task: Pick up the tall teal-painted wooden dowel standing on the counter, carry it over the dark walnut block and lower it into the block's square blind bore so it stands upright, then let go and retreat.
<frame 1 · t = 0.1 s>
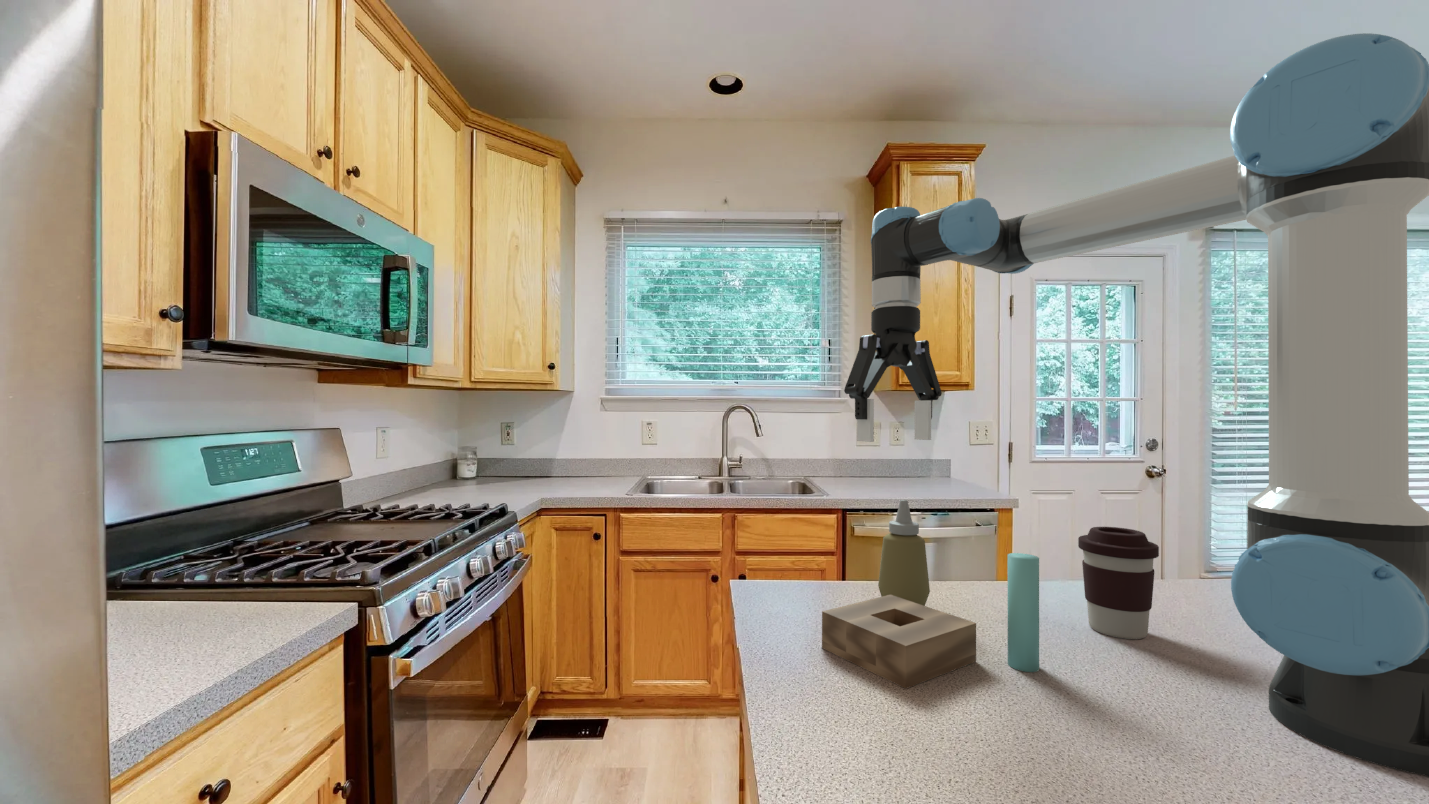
hand: (895, 440, 94), 28 cm above the countertop, fingers open, 13 cm apart
squeeze bottle: (903, 612, 96), on the countertop
pin: (1023, 665, 75), on the countertop
bore block: (897, 654, 78), on the countertop
coffee cup: (1117, 632, 88), on the countertop
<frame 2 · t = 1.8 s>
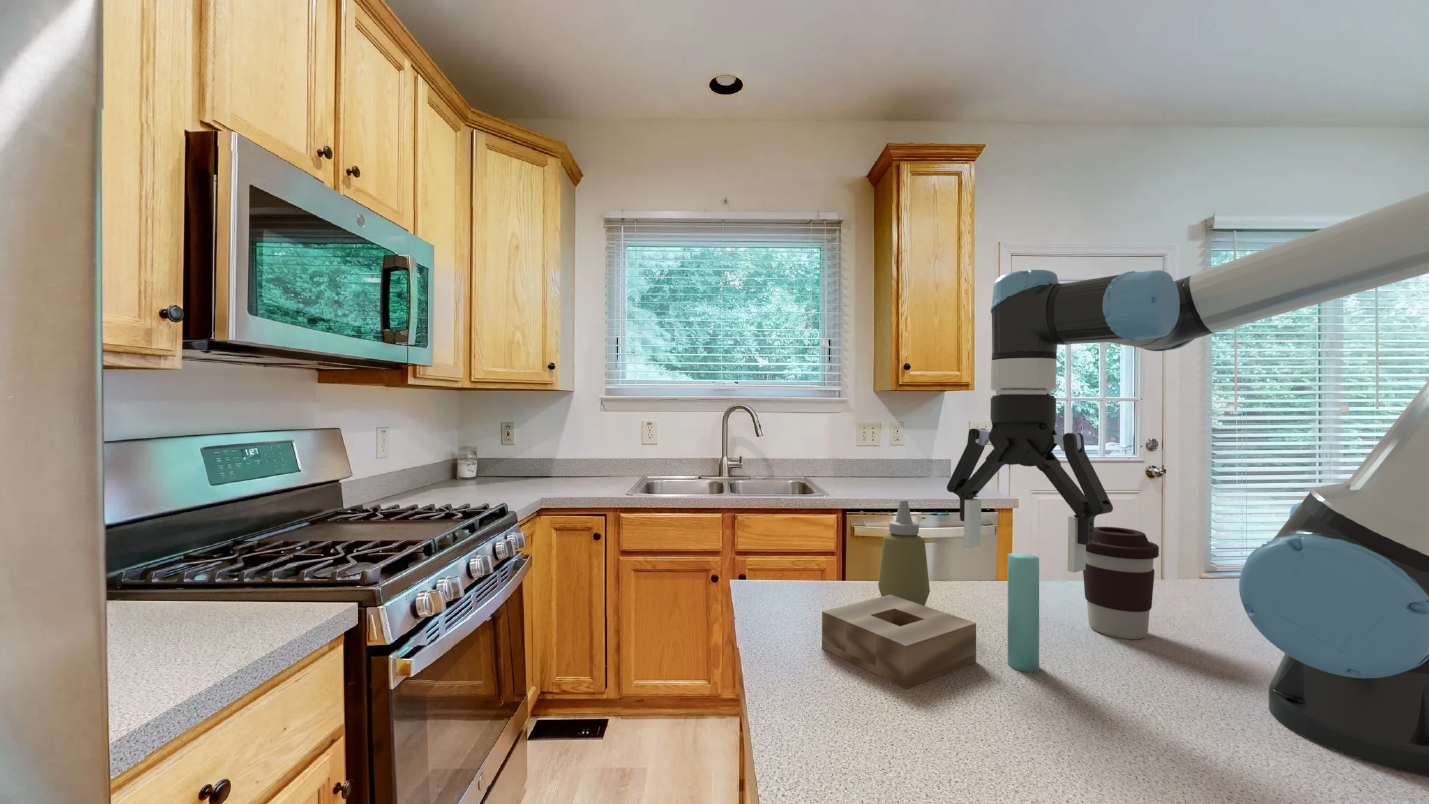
hand: (1020, 557, 76), 14 cm above the countertop, fingers open, 13 cm apart
nothing on the countertop moved.
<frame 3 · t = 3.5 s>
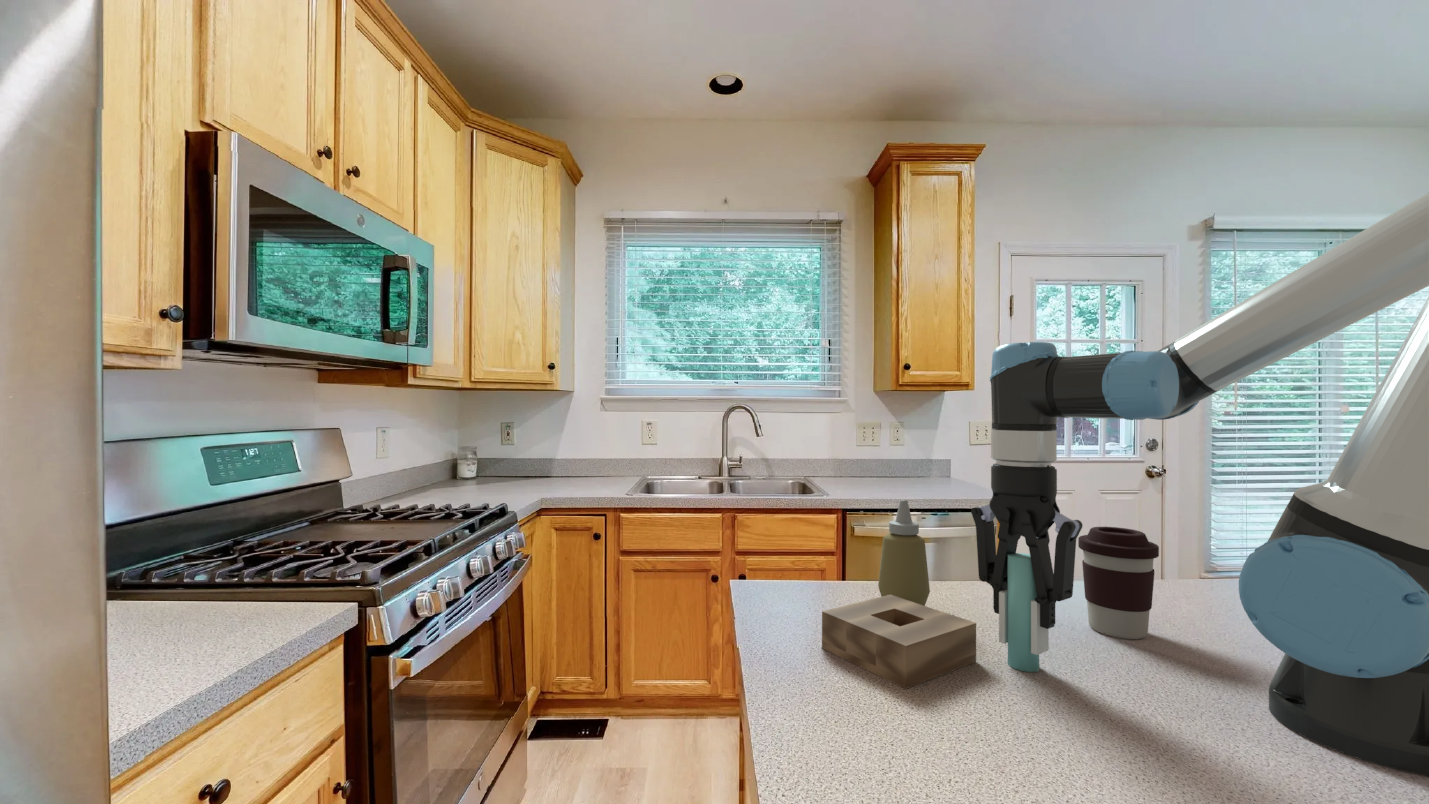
hand: (1023, 645, 75), 3 cm above the countertop, fingers closed on pin, 3 cm apart
pin: (1023, 665, 75), on the countertop, touching gripper
everything else where it was.
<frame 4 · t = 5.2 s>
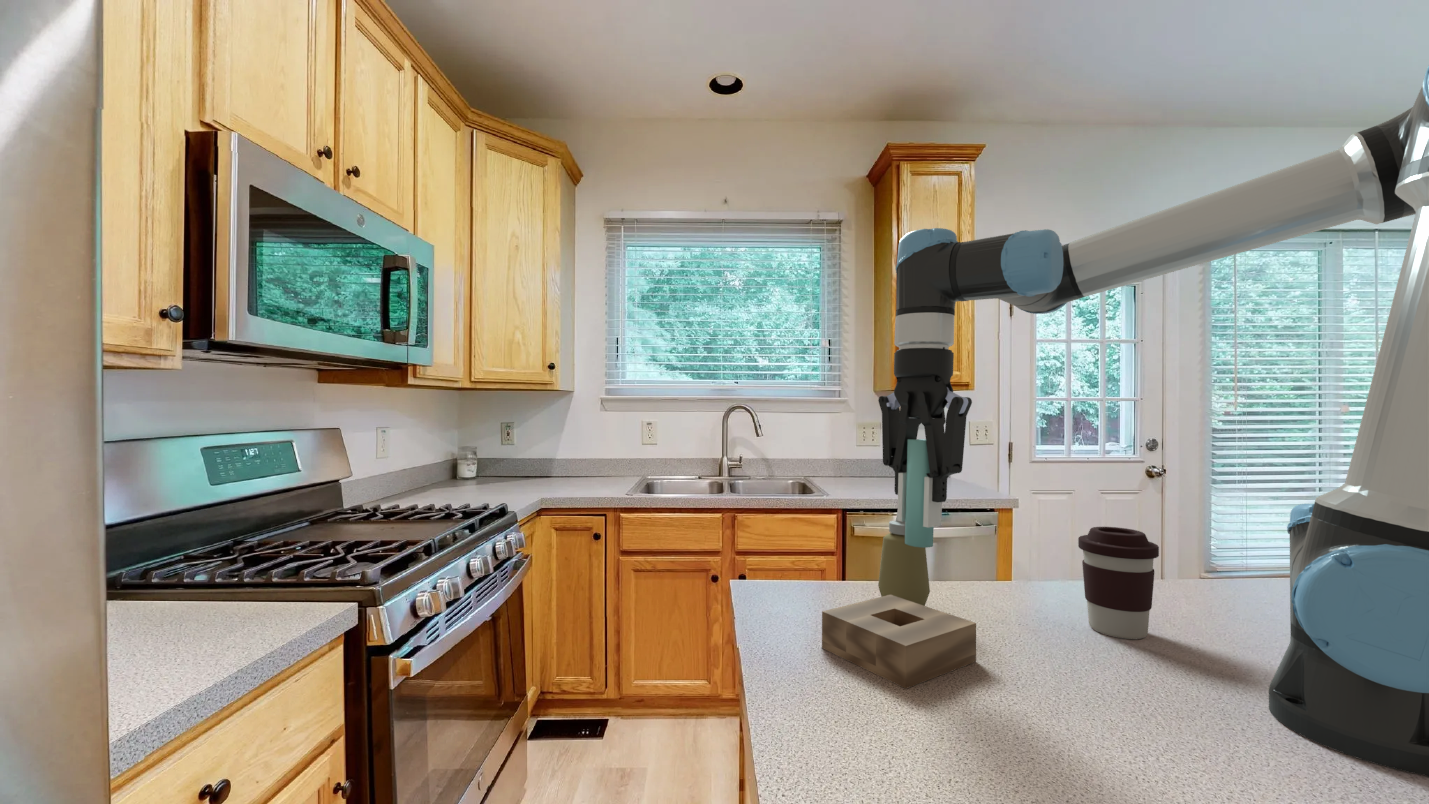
hand: (918, 522, 79), 18 cm above the countertop, fingers closed on pin, 3 cm apart
pin: (918, 544, 79), point 15 cm above the countertop, touching gripper
everything else where it was.
when the fingers open (6 cm above the countertop, at t = 6.9 s): pin drops 1 cm, resting on bore block.
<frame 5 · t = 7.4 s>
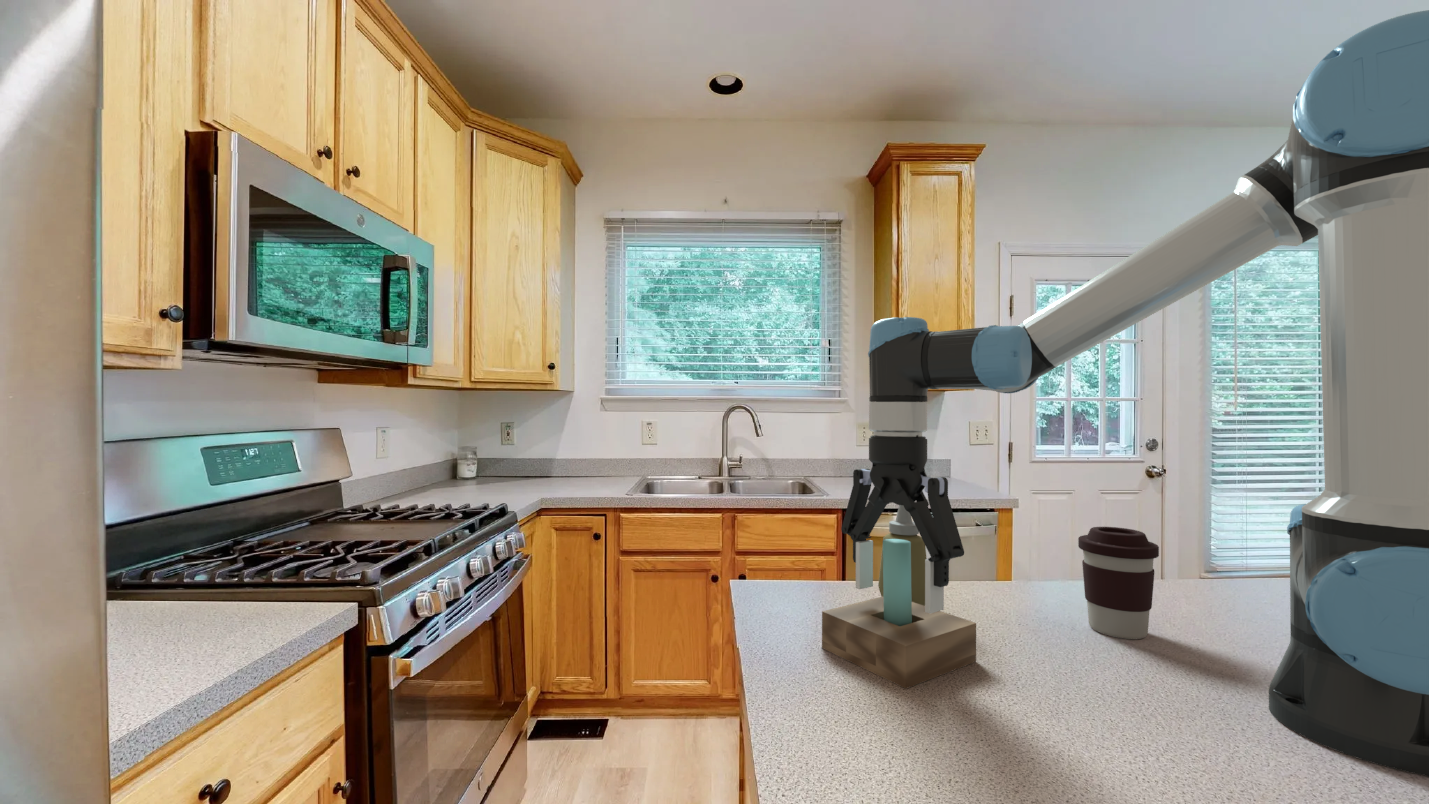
hand: (897, 598, 79), 7 cm above the countertop, fingers open, 11 cm apart
pin: (898, 647, 78), point 1 cm above the countertop, touching bore block
everything else where it was.
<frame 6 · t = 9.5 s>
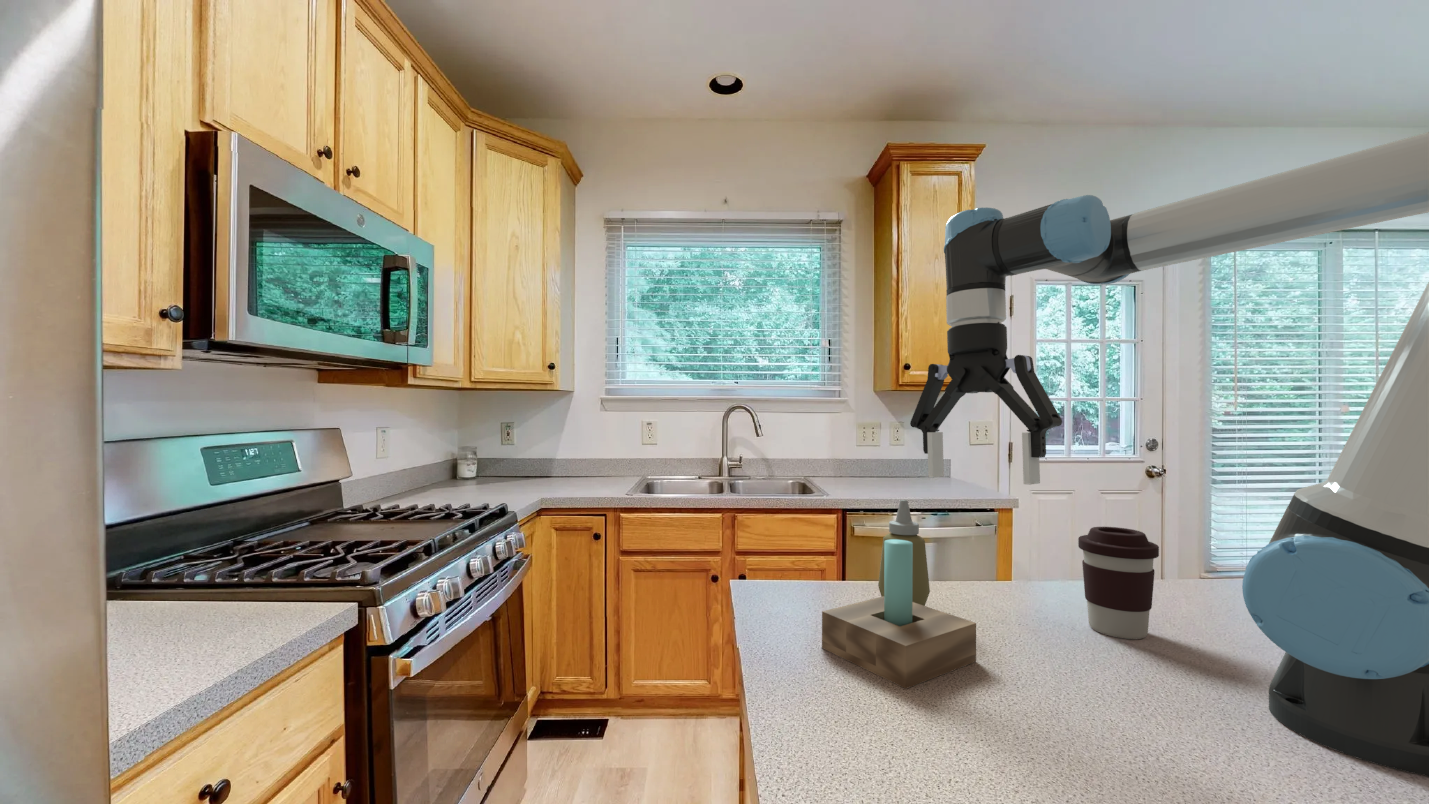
hand: (980, 480, 80), 23 cm above the countertop, fingers open, 13 cm apart
nothing on the countertop moved.
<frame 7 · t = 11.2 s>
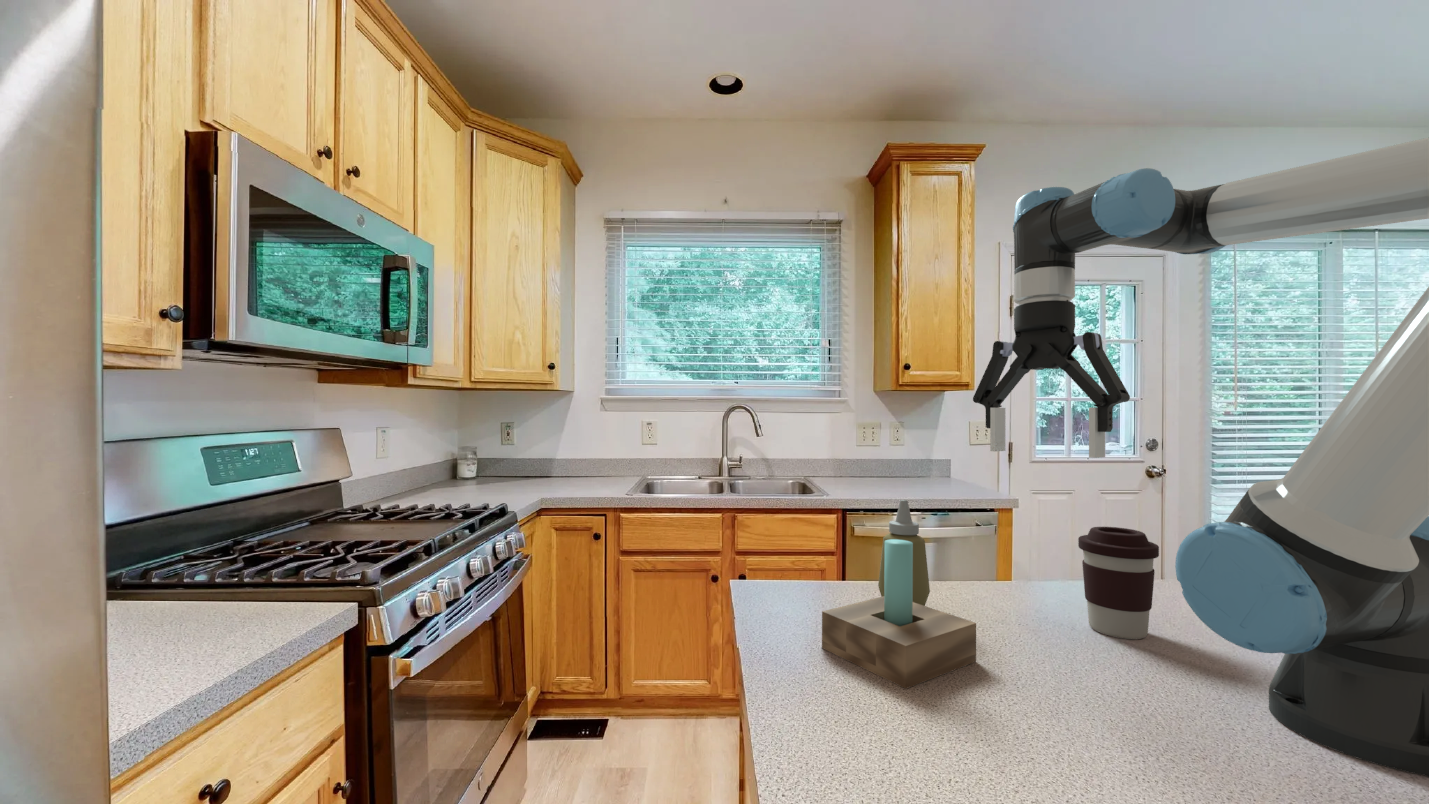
hand: (1044, 454, 82), 27 cm above the countertop, fingers open, 13 cm apart
nothing on the countertop moved.
at the end: pin 0.1 cm off-centre on the bore block, point 1.0 cm above the bore block's base; pin tilted 0°; the gripper is holding nothing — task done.
